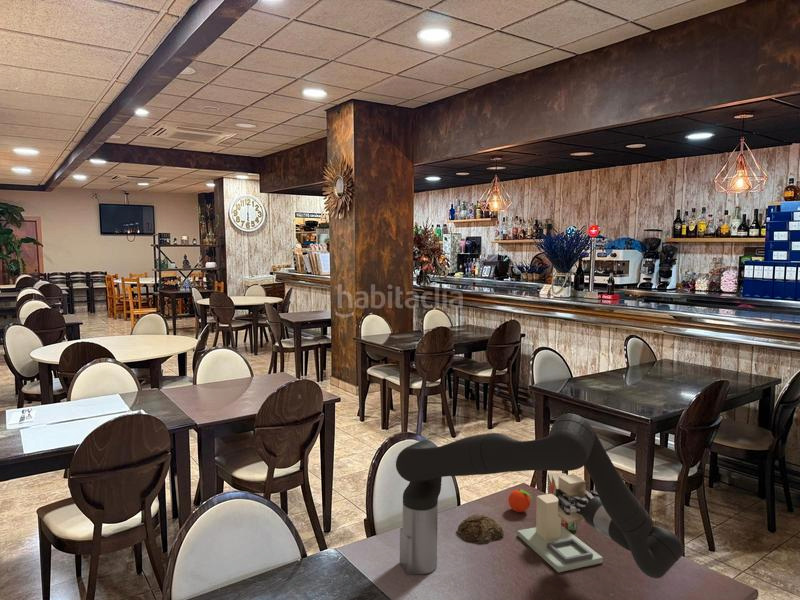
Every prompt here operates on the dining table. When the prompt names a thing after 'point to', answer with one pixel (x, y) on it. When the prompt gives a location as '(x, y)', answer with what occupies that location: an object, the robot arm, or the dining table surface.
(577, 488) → the maple pillar
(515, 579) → the dining table surface
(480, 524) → the bread roll
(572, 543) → the baseplate
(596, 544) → the dining table surface
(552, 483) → the stack of blocks
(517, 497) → the clementine
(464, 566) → the dining table surface
